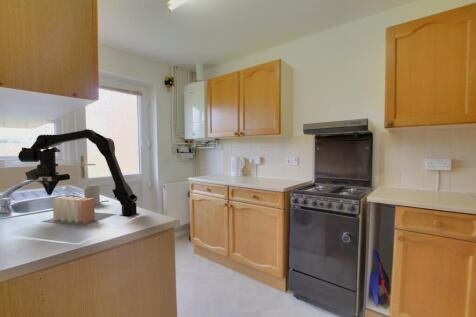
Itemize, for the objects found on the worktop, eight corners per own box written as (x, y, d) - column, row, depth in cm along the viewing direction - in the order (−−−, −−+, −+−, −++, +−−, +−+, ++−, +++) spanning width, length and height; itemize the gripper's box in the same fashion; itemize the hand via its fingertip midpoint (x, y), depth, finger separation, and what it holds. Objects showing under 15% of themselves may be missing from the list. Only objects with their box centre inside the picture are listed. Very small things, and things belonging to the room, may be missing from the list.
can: (81, 206, 131) (80, 185, 130) (93, 203, 138) (92, 183, 137) (91, 207, 129) (90, 186, 128) (103, 204, 136) (102, 184, 135)
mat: (116, 215, 114) (116, 214, 114) (84, 227, 97) (84, 226, 97) (76, 212, 120) (76, 210, 120) (40, 223, 102) (40, 221, 102)
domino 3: (80, 218, 108) (79, 197, 107) (70, 221, 103) (69, 199, 102) (77, 217, 108) (77, 196, 107) (67, 221, 103) (66, 199, 103)
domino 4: (87, 218, 107) (86, 197, 106) (77, 222, 102) (77, 200, 101) (84, 218, 107) (84, 197, 107) (75, 222, 102) (74, 199, 102)
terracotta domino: (94, 219, 106) (94, 198, 105) (85, 222, 101) (84, 200, 100) (91, 219, 106) (91, 197, 106) (82, 222, 101) (81, 200, 101)
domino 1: (66, 217, 109) (66, 196, 109) (56, 220, 105) (55, 198, 104) (64, 216, 110) (63, 196, 109) (53, 220, 105) (52, 198, 104)
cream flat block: (73, 217, 109) (72, 196, 108) (63, 220, 104) (62, 199, 103) (70, 217, 109) (70, 196, 108) (60, 220, 104) (59, 198, 103)
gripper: (12, 162, 101) (14, 197, 102) (45, 163, 97) (47, 199, 98) (39, 161, 112) (41, 192, 113) (70, 161, 108) (71, 194, 109)
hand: (49, 195), depth 108 cm, fingers closed
